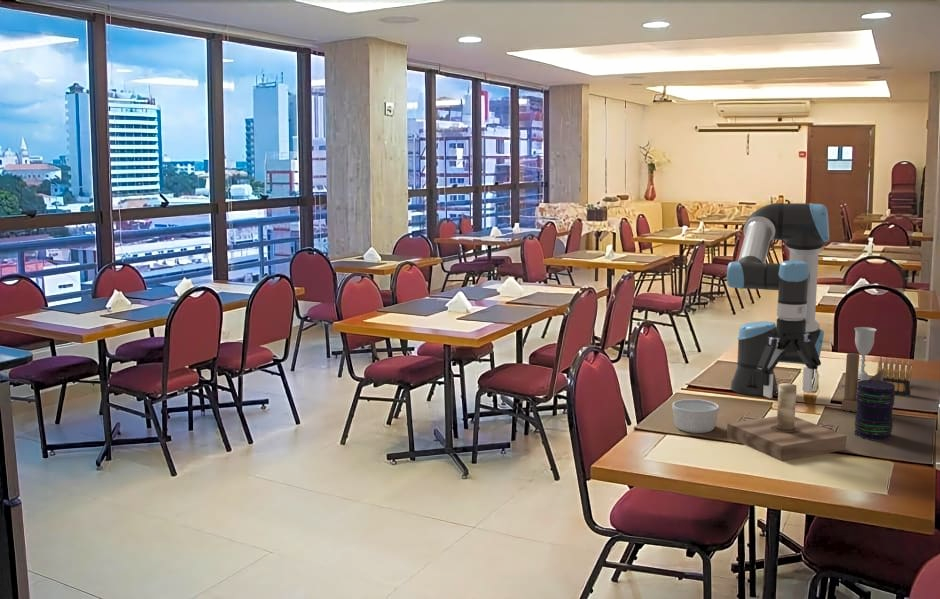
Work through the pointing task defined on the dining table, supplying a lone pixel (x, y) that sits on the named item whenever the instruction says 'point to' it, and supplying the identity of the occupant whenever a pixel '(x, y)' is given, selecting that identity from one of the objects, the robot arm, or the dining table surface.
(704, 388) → the dining table surface
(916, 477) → the dining table surface
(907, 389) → the ammunition clip
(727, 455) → the dining table surface
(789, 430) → the beech leg
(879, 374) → the wooden peg block
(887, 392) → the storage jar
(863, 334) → the chalice
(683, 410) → the ramekin
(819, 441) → the walnut board
